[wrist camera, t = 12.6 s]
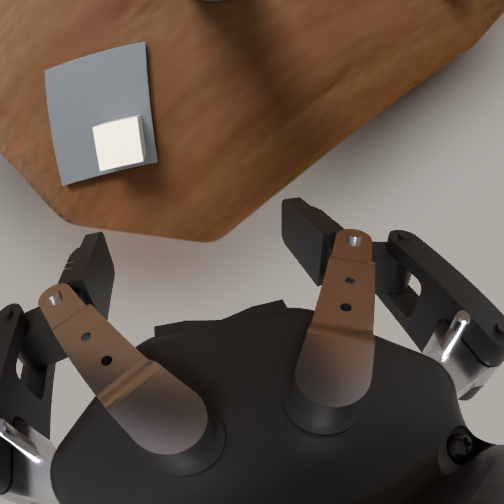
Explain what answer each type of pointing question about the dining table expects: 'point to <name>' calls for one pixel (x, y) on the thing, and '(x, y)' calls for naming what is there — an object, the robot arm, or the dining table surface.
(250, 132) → the dining table surface
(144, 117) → the base plate
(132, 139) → the cream rounded cube
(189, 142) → the dining table surface
